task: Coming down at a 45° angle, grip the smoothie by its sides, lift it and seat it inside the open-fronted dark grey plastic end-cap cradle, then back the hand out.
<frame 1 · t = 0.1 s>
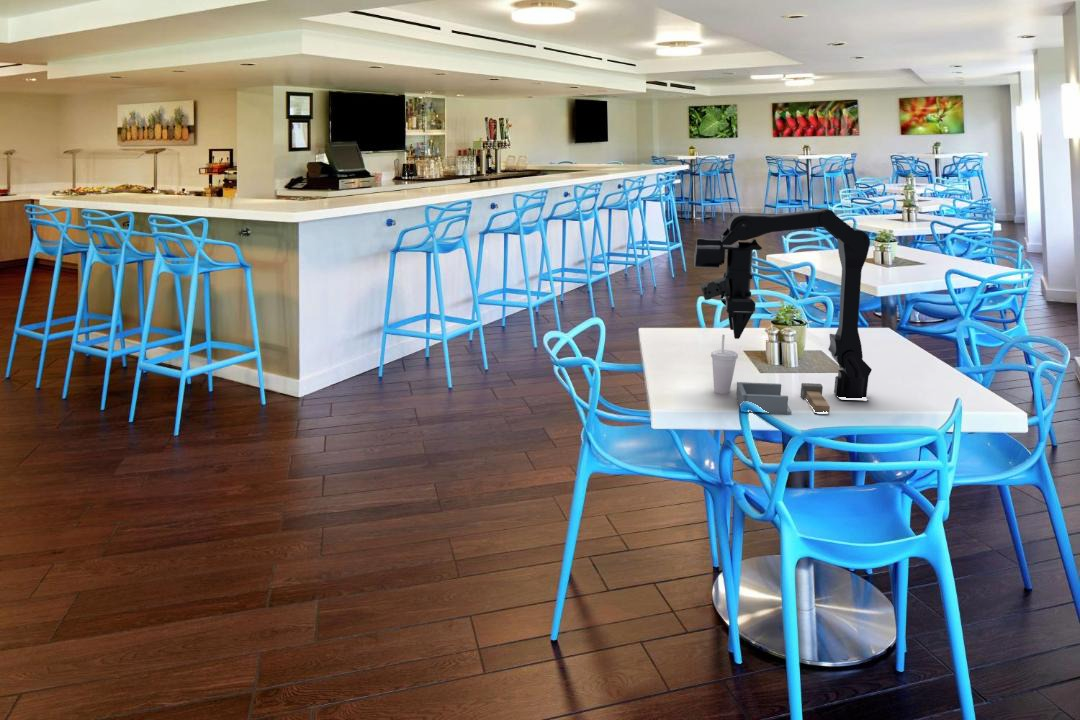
hand: (734, 334, 201), 15 cm above the table, tool pointing down, fingers open, 9 cm apart
capped slat: (816, 406, 195), on the table
smoothie: (721, 392, 206), on the table
endcap cradle: (761, 406, 195), on the table
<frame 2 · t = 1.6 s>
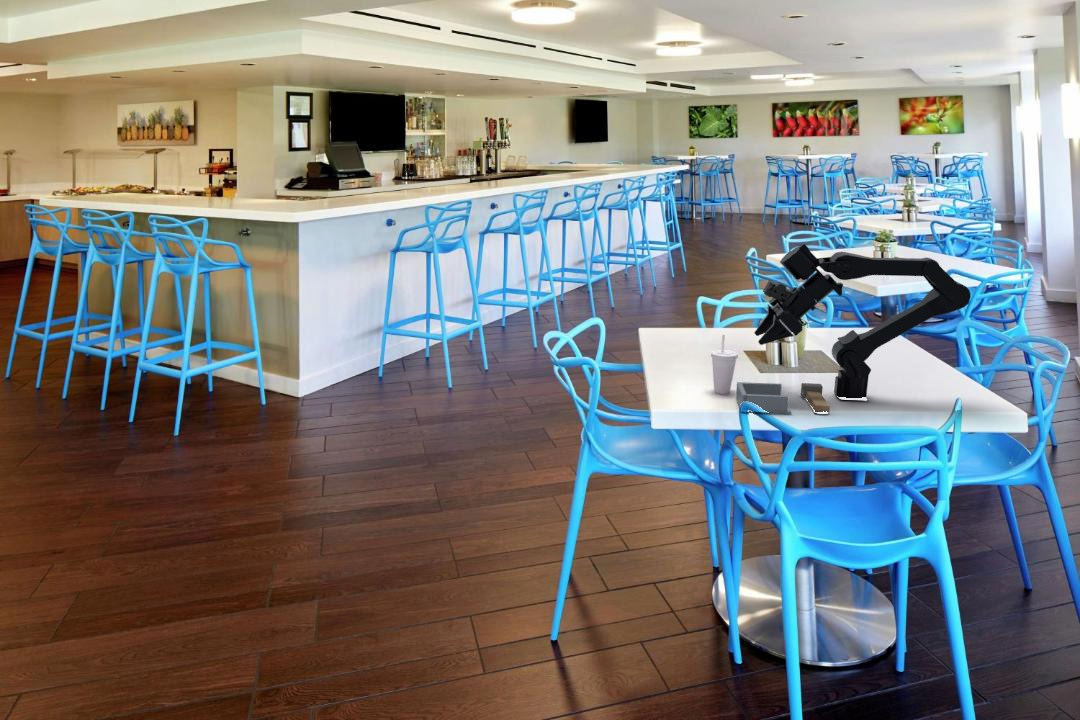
hand: (757, 338, 201), 13 cm above the table, tool tilted 45°, fingers open, 9 cm apart
nothing on the table moved.
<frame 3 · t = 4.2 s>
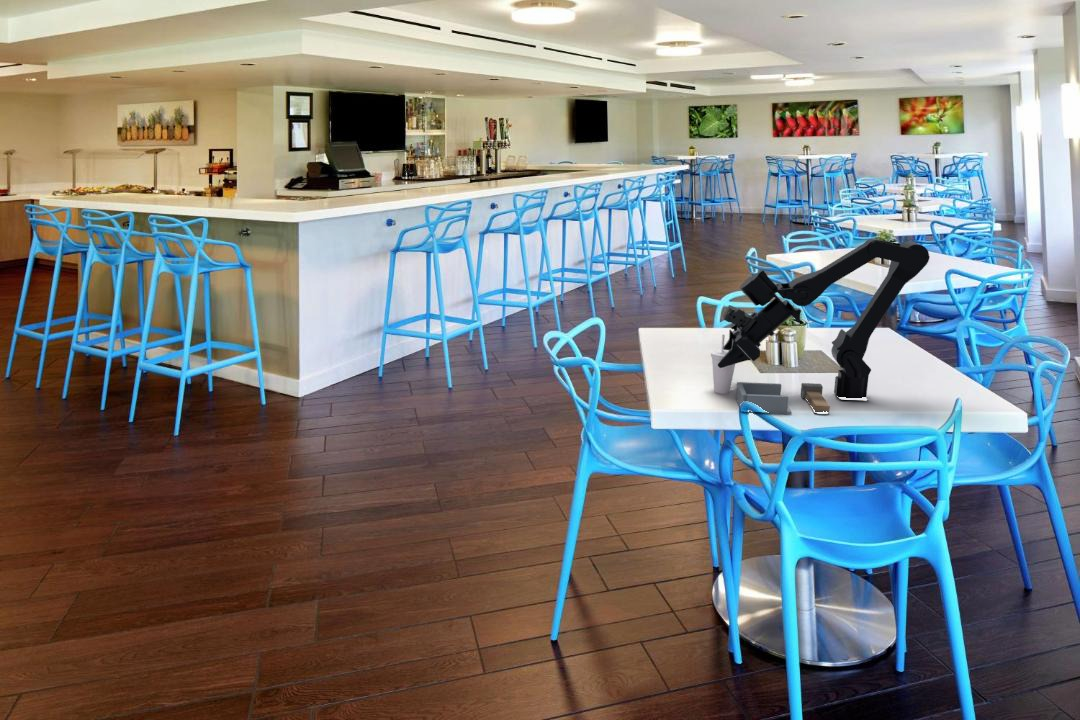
hand: (717, 362, 204), 7 cm above the table, tool tilted 45°, fingers closed on smoothie, 6 cm apart
smoothie: (721, 392, 206), on the table, touching gripper
when the fingers open (8 cm above the table, at t = 8.0 s): smoothie drops 1 cm, resting in endcap cradle.
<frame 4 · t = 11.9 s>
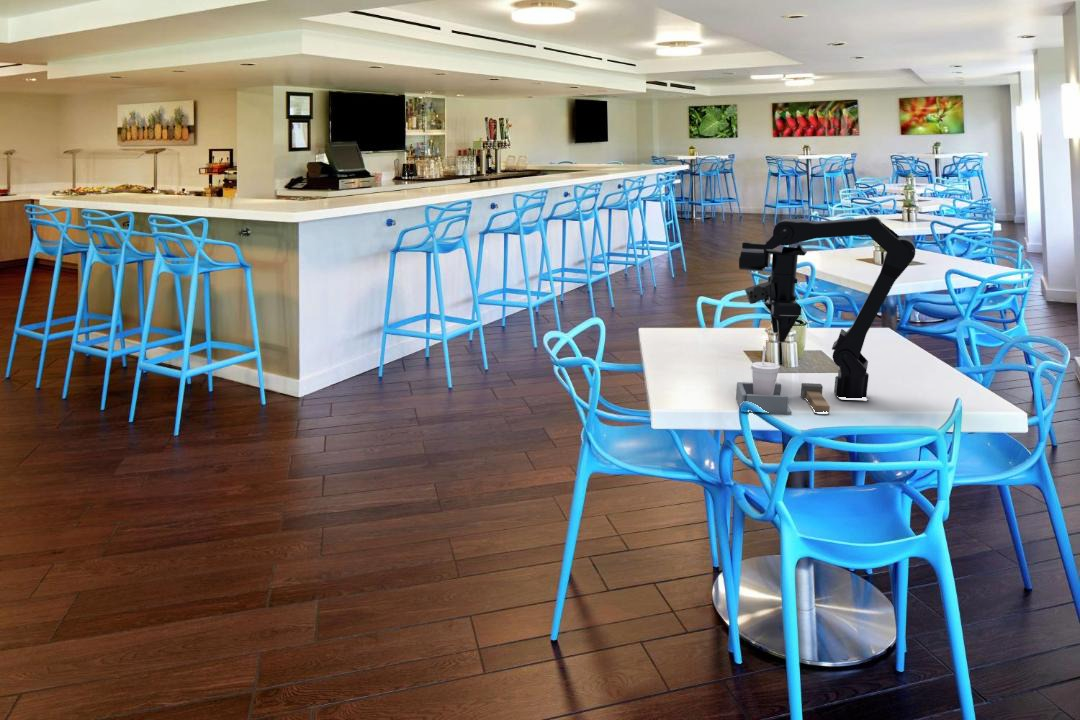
hand: (778, 337, 205), 13 cm above the table, tool pointing down, fingers open, 9 cm apart
smoothie: (762, 406, 195), resting in endcap cradle
at the end: smoothie 0.1 cm off-centre on the endcap cradle, point 0.0 cm above the endcap cradle's base; smoothie tilted 0°; the gripper is holding nothing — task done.
